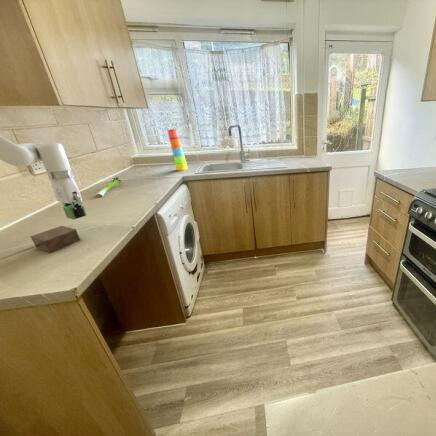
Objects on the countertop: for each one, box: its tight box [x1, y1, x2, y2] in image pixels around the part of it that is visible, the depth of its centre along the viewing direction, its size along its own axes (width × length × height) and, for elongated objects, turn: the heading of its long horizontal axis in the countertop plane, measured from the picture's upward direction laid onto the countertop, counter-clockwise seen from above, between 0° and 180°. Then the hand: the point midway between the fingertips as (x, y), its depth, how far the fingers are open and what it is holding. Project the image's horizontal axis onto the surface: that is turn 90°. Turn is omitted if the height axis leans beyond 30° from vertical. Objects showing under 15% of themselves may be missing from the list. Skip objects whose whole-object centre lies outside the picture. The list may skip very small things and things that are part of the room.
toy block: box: [62, 203, 87, 220], centre depth 105 cm, size 5×5×5 cm
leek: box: [95, 176, 123, 198], centre depth 164 cm, size 6×7×30 cm
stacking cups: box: [167, 128, 188, 171], centre depth 209 cm, size 10×10×35 cm
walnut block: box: [29, 225, 81, 254], centre depth 95 cm, size 10×10×5 cm
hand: (76, 215), depth 106 cm, fingers closed on toy block, 5 cm apart
